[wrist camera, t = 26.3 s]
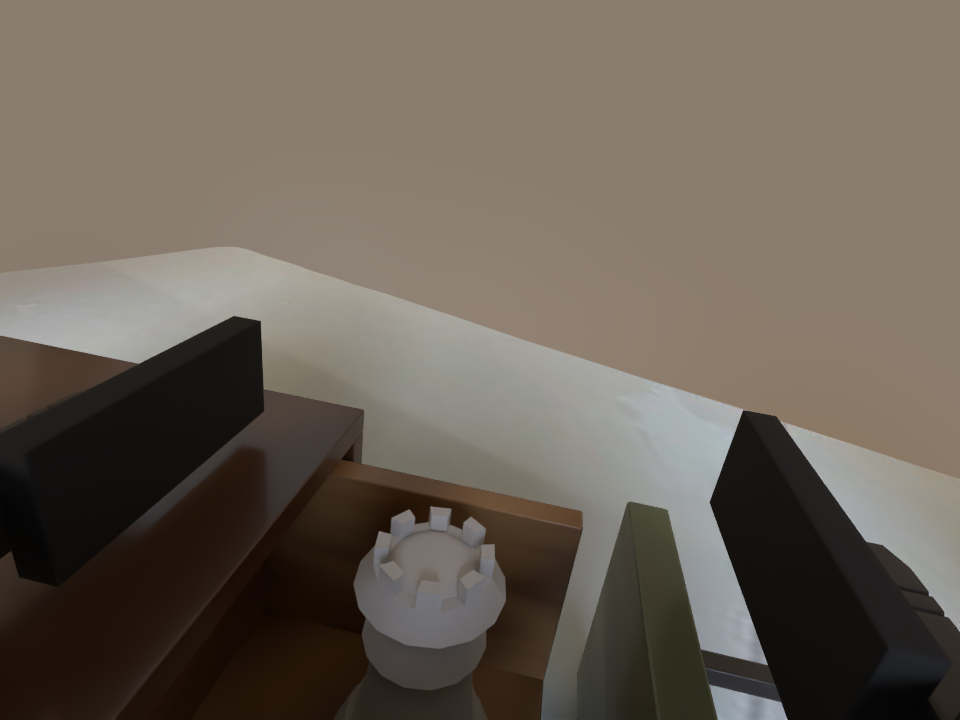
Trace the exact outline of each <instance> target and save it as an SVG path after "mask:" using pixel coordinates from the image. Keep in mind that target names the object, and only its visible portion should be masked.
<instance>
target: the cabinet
mask: <svg viewBox="0 0 960 720" xmlns="http://www.w3.org/2000/svg"><path fill="white" fill-rule="evenodd" d="M136 365H138V364H137V363H132V362H127V361H122V360H117V359H112V358H107V357H102V356H97V355H92V354H88V353H83V352H78V351H73V350H68V349H63V348H58V347H53V346H48V345H43V344H39V343H34V342H29V341H24V340H19V339H14V338H9V337H4V336H0V429H1V428H3V427H5V426H7V425H9V424H11V423H13V422H15V421H17V420H19V419H21V418H24V419H26V418H27V415H29V414H31V413H34V412H36V411H38V410H40V409H42V408H44V409H46V408H47V406H48V405H50V404H52V403H54V402H56V401H58V400H60V399H62V398H64V397H66V396H68V395H70V394H73V393H76V392H80V391H83V390H86V389H90V388H92V387H94V386H96V385H98V384H100V383H102V382H104V381H106V380H108V379H110V378H112V377H114V376H116V375H118V374H120V373H122V372H124V371H126V370H128V369H130V368H132V367H134V366H136ZM263 391H264V412H263V413H262V414H261V415H259V416H258V417H257V418H256V419H255V420H254V421H252V422H251V423H250V424H249V425H248V426H246V427H245V428H244V429H243V430H242V431H241V432H239V433H238V434H237V435H236V436H235V437H234V438H232V439H231V440H230V441H229V442H228V443H227V444H225V445H224V446H223V447H222V448H221V449H220V450H218V451H217V452H216V453H215V454H214V455H213V456H211V457H210V458H209V459H208V460H207V461H205V462H204V463H203V464H202V465H201V466H200V467H198V468H197V469H196V470H195V471H194V472H193V473H191V474H190V475H189V476H188V477H187V478H186V479H184V480H183V481H182V482H181V483H180V484H179V485H177V486H176V487H175V488H174V489H173V490H171V491H170V492H169V493H168V494H167V495H166V496H164V497H163V498H162V499H161V500H160V501H159V502H157V503H156V504H155V505H154V506H153V507H152V508H150V509H149V510H148V511H147V512H146V513H145V514H143V515H142V516H141V517H140V518H139V519H138V520H136V521H135V522H134V523H133V524H132V525H130V526H129V527H128V528H127V529H126V530H125V531H123V532H122V533H121V534H120V535H119V536H118V537H116V538H115V539H114V540H113V541H112V542H111V543H109V544H108V545H107V546H106V547H105V548H104V549H102V550H101V551H100V552H99V553H98V554H96V555H95V556H94V557H93V558H92V559H91V560H89V561H88V562H87V563H86V564H85V565H84V566H82V567H81V568H80V569H79V570H78V571H77V572H75V573H74V574H73V575H72V576H71V577H70V578H68V579H67V580H66V581H65V582H64V583H63V584H61V585H60V586H59V587H55V586H51V585H47V584H43V583H39V582H35V581H31V580H27V579H23V578H19V575H18V572H17V569H16V565H15V562H14V558H13V555H12V551H11V552H9V553H8V554H6V555H5V556H4V557H2V558H1V559H0V720H145V719H146V718H147V716H148V715H149V714H150V712H151V711H152V710H153V708H154V707H155V706H156V704H157V703H158V702H159V700H160V699H161V698H162V696H163V695H164V694H165V692H166V691H167V690H168V688H169V687H170V686H171V684H172V683H173V682H174V680H175V679H176V678H177V676H178V675H179V674H180V673H181V671H182V670H183V669H184V667H185V666H186V665H187V663H188V662H189V661H190V659H191V658H192V657H193V655H194V654H195V653H196V651H197V650H198V649H199V647H200V646H201V645H202V643H203V642H204V641H205V639H206V638H207V637H208V635H209V634H210V633H211V631H212V630H213V629H214V627H215V626H216V625H217V623H218V622H219V621H220V619H221V618H222V617H223V616H224V614H225V613H226V612H227V610H228V609H229V608H230V606H231V605H232V604H233V602H234V601H235V600H236V598H237V597H238V596H239V594H240V593H241V592H242V590H243V589H244V588H245V586H246V585H247V584H248V582H249V581H250V580H251V578H252V577H253V576H254V574H255V573H256V572H257V570H258V569H259V568H260V566H261V565H262V564H263V562H264V561H265V560H266V558H267V557H268V556H269V555H270V553H271V552H272V551H273V549H274V548H275V547H276V545H277V544H278V543H279V541H280V540H281V539H282V537H283V536H284V535H285V533H286V532H287V531H288V529H289V528H290V527H291V525H292V524H293V523H294V521H295V520H296V519H297V517H298V516H299V515H300V513H301V512H302V511H303V509H304V508H305V507H306V505H307V504H308V503H309V501H310V500H311V499H312V498H313V496H314V495H315V494H316V492H317V491H318V490H319V488H320V487H321V486H322V484H323V483H324V482H325V480H326V479H327V478H328V476H329V475H330V474H331V472H332V471H333V470H334V468H335V467H336V466H337V464H338V463H339V462H340V460H345V461H350V462H355V463H359V464H361V461H362V441H363V432H362V431H363V423H364V410H362V409H357V408H352V407H347V406H342V405H337V404H332V403H328V402H323V401H318V400H313V399H308V398H303V397H298V396H293V395H288V394H284V393H279V392H274V391H269V390H264V389H263Z"/></svg>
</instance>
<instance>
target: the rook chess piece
mask: <svg viewBox="0 0 960 720" xmlns="http://www.w3.org/2000/svg"><path fill="white" fill-rule="evenodd" d="M451 510H452V509H449V508H440V507H432V506H430V514H429V522H426V523H420V524H415V516H414V515H413V514H412V512H411V511H410V509H409V510H407V511H405V512H403V513H401V514H399V515H397V516H395V517H392V519H391V531H390V534H388V533H384V532H380V531H379V533H378V537H377V540H376V544H375V546H374V547H373V548H372V549H371V550H370V552H369V553H368V554H367V555H366V556H365V557H364V558H363V559H362V560H361V561H360V564H359V568H358V571H357V574H356V578H355V581H354V588H355V593H356V598H357V602H358V607H359V609H360V611H361V612H362V613H363V614H364V615H365V617H366V619H365V623H364V627H363V631H362V638H363V643H364V648H365V653H366V656H367V658H368V659H369V664H368V668H367V672H366V675H365V677H364V678H363V679H362V681H361V682H360V683H359V684H358V685H356V686H355V688H354V689H353V690H352V692H351V693H350V695H349V696H348V697H347V699H346V700H345V702H344V703H343V705H342V706H341V707H340V709H339V710H338V712H337V714H336V716H335V718H334V720H488V719H487V716H486V714H485V711H484V709H483V706H482V703H481V701H480V699H479V697H478V696H477V695H476V693H475V691H474V688H473V682H472V671H473V670H474V669H475V668H476V667H477V665H478V663H479V661H480V659H481V657H482V655H483V653H484V651H485V649H486V630H487V629H488V628H489V627H491V626H492V625H493V624H495V622H496V620H497V618H498V616H499V614H500V612H501V610H502V608H503V606H504V604H505V602H506V588H505V576H504V575H503V573H502V571H501V569H500V567H499V565H498V563H497V561H496V560H495V544H490V545H483V544H484V538H485V532H486V528H484V527H483V526H482V525H481V524H480V523H478V522H477V521H476V520H475V519H473V518H472V517H470V518H469V519H468V520H466V521H465V522H464V523H463V530H462V529H459V528H457V527H454V526H452V525H450V518H451Z"/></svg>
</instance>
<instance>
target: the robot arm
mask: <svg viewBox="0 0 960 720" xmlns="http://www.w3.org/2000/svg"><path fill="white" fill-rule="evenodd" d="M263 412H264V391H263V367H262V342H261V321H258V320H252V319H247V318H241V317H236V316H233V317H231V318H229V319H227V320H225V321H223V322H221V323H219V324H217V325H215V326H213V327H211V328H209V329H207V330H205V331H203V332H201V333H199V334H198V335H196V336H194V337H192V338H190V339H188V340H186V341H184V342H182V343H180V344H178V345H176V346H174V347H172V348H170V349H168V350H166V351H164V352H162V353H160V354H158V355H156V356H154V357H152V358H150V359H148V360H146V361H144V362H142V363H140V364H138V365H136V366H134V367H132V368H130V369H128V370H126V371H124V372H122V373H120V374H118V375H116V376H114V377H112V378H110V379H108V380H106V381H104V382H102V383H100V384H98V385H96V386H94V387H92V388H90V389H86V390H83V391H80V392H76V393H73V394H70V395H68V396H66V397H64V398H62V399H60V400H58V401H56V402H54V403H52V404H50V405H48V406H47V408H46V409H44V408H42V409H40V410H38V411H36V412H34V413H31V414H29V415H27V418H26V419H24V418H21V419H19V420H17V421H15V422H13V423H11V424H9V425H7V426H5V427H3V428H1V429H0V559H1V558H2V557H4V556H5V555H6V554H8V553H9V552H11V551H12V555H13V558H14V562H15V565H16V569H17V572H18V575H19V578H23V579H27V580H31V581H35V582H39V583H43V584H47V585H51V586H55V587H59V586H60V585H61V584H63V583H64V582H65V581H66V580H67V579H68V578H70V577H71V576H72V575H73V574H74V573H75V572H77V571H78V570H79V569H80V568H81V567H82V566H84V565H85V564H86V563H87V562H88V561H89V560H91V559H92V558H93V557H94V556H95V555H96V554H98V553H99V552H100V551H101V550H102V549H104V548H105V547H106V546H107V545H108V544H109V543H111V542H112V541H113V540H114V539H115V538H116V537H118V536H119V535H120V534H121V533H122V532H123V531H125V530H126V529H127V528H128V527H129V526H130V525H132V524H133V523H134V522H135V521H136V520H138V519H139V518H140V517H141V516H142V515H143V514H145V513H146V512H147V511H148V510H149V509H150V508H152V507H153V506H154V505H155V504H156V503H157V502H159V501H160V500H161V499H162V498H163V497H164V496H166V495H167V494H168V493H169V492H170V491H171V490H173V489H174V488H175V487H176V486H177V485H179V484H180V483H181V482H182V481H183V480H184V479H186V478H187V477H188V476H189V475H190V474H191V473H193V472H194V471H195V470H196V469H197V468H198V467H200V466H201V465H202V464H203V463H204V462H205V461H207V460H208V459H209V458H210V457H211V456H213V455H214V454H215V453H216V452H217V451H218V450H220V449H221V448H222V447H223V446H224V445H225V444H227V443H228V442H229V441H230V440H231V439H232V438H234V437H235V436H236V435H237V434H238V433H239V432H241V431H242V430H243V429H244V428H245V427H246V426H248V425H249V424H250V423H251V422H252V421H254V420H255V419H256V418H257V417H258V416H259V415H261V414H262V413H263ZM710 505H711V508H712V510H713V513H714V516H715V519H716V521H717V524H718V527H719V530H720V533H721V535H722V538H723V541H724V544H725V546H726V549H727V552H728V555H729V558H730V560H731V563H732V566H733V569H734V572H735V574H736V577H737V580H738V583H739V585H740V588H741V591H742V594H743V597H744V599H745V602H746V605H747V608H748V610H749V613H750V616H751V619H752V622H753V624H754V627H755V630H756V633H757V636H758V638H759V641H760V644H761V647H762V649H763V652H764V655H765V658H766V661H767V663H768V666H769V669H770V672H771V674H772V677H773V680H774V683H775V686H776V688H777V691H778V694H779V697H780V699H781V702H782V705H783V708H784V711H785V713H786V716H787V719H788V720H960V632H959V630H958V629H957V628H956V627H955V625H954V624H953V623H952V621H951V620H950V619H949V618H948V617H945V616H944V611H943V610H942V609H941V607H940V606H939V605H938V603H937V602H936V601H935V599H934V598H933V597H930V596H929V595H928V593H929V592H928V590H927V589H926V588H925V587H924V585H923V584H922V583H921V581H920V580H919V579H918V578H917V576H916V575H915V574H914V572H913V571H912V570H911V569H910V568H909V567H908V566H907V565H906V564H905V563H903V562H902V561H901V560H900V559H899V558H897V557H896V556H895V555H894V554H893V553H891V552H890V551H889V550H888V549H886V548H885V547H884V546H883V545H879V544H874V543H869V542H866V541H865V540H864V538H863V537H862V536H861V534H860V533H859V531H858V530H857V529H856V527H855V526H854V524H853V523H852V522H851V520H850V519H849V517H848V516H847V515H846V513H845V512H844V510H843V509H842V508H841V506H840V505H839V503H838V502H837V501H836V499H835V498H834V497H833V495H832V494H831V492H830V491H829V490H828V488H827V487H826V485H825V484H824V483H823V481H822V480H821V478H820V477H819V476H818V474H817V473H816V471H815V470H814V469H813V467H812V466H811V464H810V463H809V462H808V460H807V459H806V457H805V456H804V455H803V453H802V452H801V450H800V449H799V448H798V446H797V445H796V443H795V442H794V441H793V439H792V438H791V436H790V435H789V434H788V432H787V431H786V429H785V428H784V427H783V425H782V424H781V422H780V421H779V420H778V418H777V417H776V416H771V415H766V414H760V413H755V412H750V411H744V410H743V412H742V415H741V418H740V421H739V423H738V426H737V429H736V432H735V434H734V437H733V440H732V443H731V445H730V448H729V451H728V453H727V456H726V459H725V462H724V464H723V467H722V470H721V473H720V475H719V478H718V481H717V484H716V486H715V489H714V492H713V495H712V497H711V500H710Z"/></svg>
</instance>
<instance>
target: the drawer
mask: <svg viewBox="0 0 960 720" xmlns="http://www.w3.org/2000/svg"><path fill="white" fill-rule="evenodd" d="M430 506H432V507H440V508H449V509H452V510H451V518H450V525H452V526H454V527H457V528H459V529H462V530H463V523H464V522H465V521H466V520H468V519H469V518H470V517H472V518H473V519H475V520H476V521H477V522H478V523H480V524H481V525H482V526H483V527H484V528H486V532H485V538H484V544H483V545H490V544H495V560H496V561H497V563H498V565H499V567H500V569H501V571H502V573H503V575H504V576H505V588H506V602H505V604H504V606H503V608H502V610H501V612H500V614H499V616H498V618H497V620H496V622H495V624H493V625H492V626H491V627H489V628H488V629H487V630H486V649H485V651H484V653H483V655H482V657H481V659H480V661H479V663H478V665H477V667H476V668H475V669H474V670H473V671H472V682H473V688H474V691H475V693H476V695H477V696H478V697H479V699H480V701H481V703H482V706H483V709H484V711H485V714H486V716H487V719H488V720H541V708H542V693H543V679H544V676H545V672H546V668H547V665H548V661H549V657H550V653H551V649H552V645H553V642H554V638H555V634H556V630H557V626H558V622H559V619H560V615H561V611H562V607H563V603H564V599H565V595H566V592H567V588H568V584H569V580H570V576H571V572H572V569H573V565H574V561H575V557H576V553H577V549H578V546H579V542H580V538H581V534H582V530H583V514H582V512H581V511H577V510H573V509H568V508H563V507H559V506H554V505H549V504H545V503H540V502H535V501H531V500H526V499H522V498H517V497H512V496H508V495H503V494H498V493H494V492H489V491H484V490H480V489H475V488H471V487H466V486H461V485H457V484H452V483H447V482H443V481H438V480H433V479H429V478H424V477H420V476H415V475H410V474H406V473H401V472H396V471H392V470H387V469H382V468H378V467H373V466H369V465H364V464H359V463H355V462H350V461H345V460H340V462H339V463H338V464H337V466H336V467H335V468H334V470H333V471H332V472H331V474H330V475H329V476H328V478H327V479H326V480H325V482H324V483H323V484H322V486H321V487H320V488H319V490H318V491H317V492H316V494H315V495H314V496H313V498H312V499H311V500H310V501H309V503H308V504H307V505H306V507H305V508H304V509H303V511H302V512H301V513H300V515H299V516H298V517H297V519H296V520H295V521H294V523H293V524H292V525H291V527H290V528H289V529H288V531H287V532H286V533H285V535H284V536H283V537H282V539H281V540H280V541H279V543H278V544H277V545H276V547H275V548H274V549H273V551H272V552H271V553H270V555H269V556H268V557H267V558H266V560H265V561H264V562H263V564H262V565H261V566H260V568H259V569H258V570H257V572H256V573H255V574H254V576H253V577H252V578H251V580H250V581H249V582H248V584H247V585H246V586H245V588H244V589H243V590H242V592H241V593H240V594H239V596H238V597H237V598H236V600H235V601H234V602H233V604H232V605H231V606H230V608H229V609H228V610H227V612H226V613H225V614H224V616H223V617H222V618H221V619H220V621H219V622H218V623H217V625H216V626H215V627H214V629H213V630H212V631H211V633H210V634H209V635H208V637H207V638H206V639H205V641H204V642H203V643H202V645H201V646H200V647H199V649H198V650H197V651H196V653H195V654H194V655H193V657H192V658H191V659H190V661H189V662H188V663H187V665H186V666H185V667H184V669H183V670H182V671H181V673H180V674H179V675H178V676H177V678H176V679H175V680H174V682H173V683H172V684H171V686H170V687H169V688H168V690H167V691H166V692H165V694H164V695H163V696H162V698H161V699H160V700H159V702H158V703H157V704H156V706H155V707H154V708H153V710H152V711H151V712H150V714H149V715H148V716H147V718H146V719H145V720H334V718H335V716H336V714H337V712H338V710H339V709H340V707H341V706H342V705H343V703H344V702H345V700H346V699H347V697H348V696H349V695H350V693H351V692H352V690H353V689H354V688H355V686H356V685H358V684H359V683H360V682H361V681H362V679H363V678H364V677H365V675H366V672H367V668H368V664H369V659H368V658H367V656H366V653H365V648H364V643H363V638H362V631H363V627H364V623H365V619H366V617H365V615H364V614H363V613H362V612H361V611H360V609H359V607H358V602H357V598H356V593H355V588H354V581H355V578H356V574H357V571H358V568H359V564H360V561H361V560H362V559H363V558H364V557H365V556H366V555H367V554H368V553H369V552H370V550H371V549H372V548H373V547H374V546H375V544H376V540H377V537H378V533H379V531H380V532H384V533H388V534H390V531H391V519H392V517H395V516H397V515H399V514H401V513H403V512H405V511H407V510H409V509H410V511H411V512H412V514H413V515H414V516H415V524H420V523H426V522H429V514H430ZM709 685H713V686H717V687H721V688H726V689H730V690H734V691H738V692H742V693H746V694H750V695H754V696H758V697H762V698H766V699H771V700H775V701H779V702H781V699H780V697H779V694H778V691H777V688H776V686H775V683H774V680H773V677H772V674H771V672H770V669H769V666H768V665H764V664H760V663H756V662H751V661H747V660H743V659H739V658H735V657H730V656H726V655H722V654H718V653H714V652H709V651H705V650H701V648H700V644H699V640H698V636H697V631H696V627H695V623H694V619H693V615H692V610H691V606H690V602H689V598H688V594H687V590H686V585H685V581H684V577H683V573H682V569H681V564H680V560H679V556H678V552H677V548H676V543H675V539H674V535H673V531H672V527H671V523H670V518H669V514H668V511H667V510H666V509H662V508H658V507H653V506H648V505H643V504H639V503H634V502H628V503H627V506H626V510H625V513H624V516H623V520H622V523H621V527H620V530H619V533H618V537H617V540H616V543H615V547H614V550H613V554H612V557H611V560H610V564H609V567H608V571H607V574H606V577H605V581H604V584H603V588H602V591H601V594H600V598H599V601H598V604H597V608H596V611H595V615H594V618H593V621H592V625H591V628H590V632H589V635H588V638H587V642H586V645H585V649H584V652H583V655H582V659H581V662H580V665H579V669H578V672H577V720H718V719H717V715H716V711H715V707H714V703H713V698H712V694H711V690H710V686H709Z"/></svg>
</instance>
